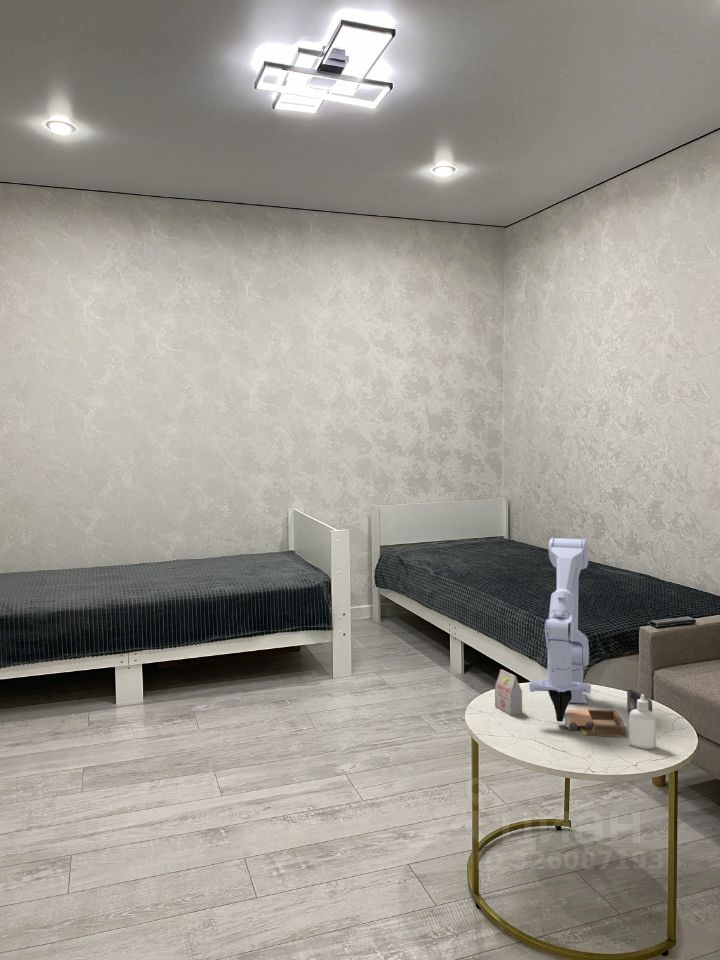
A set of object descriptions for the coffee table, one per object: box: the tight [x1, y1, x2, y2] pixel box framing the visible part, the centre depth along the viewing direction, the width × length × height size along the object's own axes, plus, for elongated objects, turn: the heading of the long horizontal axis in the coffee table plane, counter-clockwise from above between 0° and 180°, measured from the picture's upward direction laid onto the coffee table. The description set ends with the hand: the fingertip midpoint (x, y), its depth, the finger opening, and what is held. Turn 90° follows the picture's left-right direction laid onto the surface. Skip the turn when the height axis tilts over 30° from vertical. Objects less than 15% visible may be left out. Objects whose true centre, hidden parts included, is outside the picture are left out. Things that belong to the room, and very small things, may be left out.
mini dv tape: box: [626, 689, 653, 715], centre depth 188 cm, size 8×2×6 cm, turn 14°
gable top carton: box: [494, 669, 523, 716], centre depth 195 cm, size 4×7×10 cm, turn 24°
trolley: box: [563, 708, 594, 731], centre depth 183 cm, size 7×6×3 cm
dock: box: [578, 708, 627, 738], centre depth 183 cm, size 11×10×2 cm
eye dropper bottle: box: [628, 693, 657, 750], centre depth 171 cm, size 4×6×12 cm
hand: (559, 720), depth 184 cm, fingers closed
